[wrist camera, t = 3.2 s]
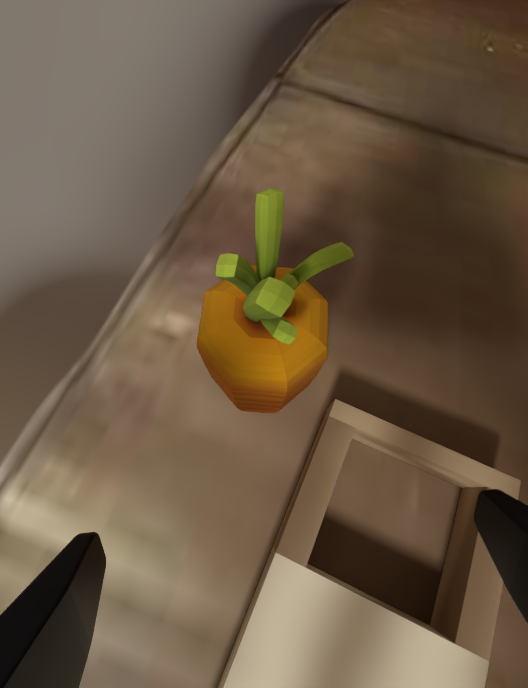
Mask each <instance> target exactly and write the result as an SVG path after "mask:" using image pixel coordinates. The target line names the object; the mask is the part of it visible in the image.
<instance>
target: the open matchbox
mask: <svg viewBox="0 0 528 688" xmlns="http://www.w3.org/2000/svg"><path fill="white" fill-rule="evenodd" d="M351 439H355V440H357V441H359V442H361V443H364V444H366V445H368V446H370V447H372V448H375V449H377V450H379V451H381V452H383V453H386V454H388V455H390V456H392V457H394V458H397V459H399V460H401V461H403V462H406V463H408V464H410V465H412V466H414V467H417V468H419V469H421V470H423V471H425V472H428V473H430V474H432V475H434V476H436V477H439V478H441V479H443V480H445V481H447V482H450V483H452V484H454V485H456V486H459V487H461V488H462V490H461V494H460V498H459V503H458V507H457V511H456V515H455V520H454V524H453V528H452V533H451V537H450V541H449V546H448V550H447V554H446V558H445V563H444V567H443V571H442V576H441V580H440V584H439V588H438V593H437V597H436V601H435V606H434V610H433V614H432V618H431V623H430V626H429V625H427V624H425V623H423V622H422V621H420V620H418V619H416V618H414V617H412V616H410V615H408V614H406V613H404V612H402V611H400V610H398V609H396V608H394V607H392V606H390V605H388V604H386V603H384V602H382V601H380V600H378V599H376V598H374V597H372V596H370V595H368V594H366V593H365V592H363V591H361V590H359V589H357V588H355V587H353V586H351V585H349V584H347V583H345V582H343V581H341V580H339V579H337V578H335V577H333V576H331V575H329V574H327V573H325V572H323V571H321V570H319V569H317V568H315V567H313V566H311V565H309V564H308V560H309V557H310V554H311V551H312V549H313V546H314V543H315V540H316V537H317V535H318V532H319V529H320V526H321V523H322V521H323V518H324V515H325V512H326V509H327V507H328V504H329V501H330V498H331V495H332V493H333V490H334V487H335V484H336V481H337V479H338V476H339V473H340V470H341V467H342V465H343V462H344V459H345V456H346V453H347V451H348V448H349V445H350V442H351ZM520 484H521V481H520V480H518V479H516V478H514V477H511V476H509V475H507V474H505V473H502V472H500V471H498V470H495V469H493V468H491V467H489V466H486V465H484V464H482V463H480V462H477V461H475V460H473V459H471V458H468V457H466V456H464V455H461V454H459V453H457V452H455V451H452V450H450V449H448V448H446V447H443V446H441V445H439V444H436V443H434V442H432V441H430V440H427V439H425V438H423V437H421V436H418V435H416V434H414V433H411V432H409V431H407V430H405V429H402V428H400V427H398V426H396V425H393V424H391V423H389V422H387V421H384V420H382V419H380V418H377V417H375V416H373V415H371V414H368V413H366V412H364V411H362V410H359V409H357V408H355V407H352V406H350V405H348V404H346V403H343V402H341V401H339V400H337V399H335V400H334V401H333V403H332V404H331V405H330V406H329V407H328V409H327V410H326V413H325V416H324V418H323V421H322V423H321V426H320V428H319V431H318V433H317V436H316V438H315V441H314V443H313V446H312V449H311V451H310V454H309V456H308V459H307V461H306V464H305V466H304V469H303V471H302V474H301V477H300V479H299V482H298V484H297V487H296V489H295V492H294V494H293V497H292V499H291V502H290V504H289V507H288V510H287V512H286V515H285V517H284V520H283V522H282V525H281V527H280V530H279V532H278V535H277V537H276V540H275V543H274V545H273V548H272V550H271V553H270V555H269V558H268V560H267V563H266V565H265V568H264V570H263V573H262V576H261V578H260V581H259V583H258V586H257V588H256V591H255V593H254V596H253V598H252V601H251V603H250V606H249V609H248V611H247V614H246V616H245V619H244V621H243V624H242V626H241V629H240V631H239V634H238V637H237V639H236V642H235V644H234V647H233V649H232V652H231V654H230V657H229V659H228V662H227V664H226V667H225V670H224V672H223V675H222V677H221V680H220V682H219V685H218V687H217V688H485V682H486V677H487V671H488V665H489V660H490V654H491V648H492V643H493V637H494V631H495V626H496V620H497V614H498V609H499V603H500V597H501V592H502V586H503V580H502V578H501V576H500V574H499V572H498V570H497V568H496V566H495V564H494V562H493V560H492V558H491V556H490V554H489V552H488V550H487V548H486V546H485V544H484V542H483V540H482V538H481V536H480V534H479V532H478V530H477V528H476V525H475V522H474V510H475V506H476V502H477V497H478V494H479V492H480V491H482V490H488V489H499V490H501V491H503V492H505V493H506V494H508V495H510V496H511V497H513V498H515V499H517V500H518V496H519V490H520Z"/></svg>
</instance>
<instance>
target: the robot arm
mask: <svg viewBox="0 0 528 688" xmlns="http://www.w3.org/2000/svg"><path fill="white" fill-rule="evenodd" d="M474 522H475V525H476V528H477V530H478V532H479V534H480V536H481V538H482V540H483V542H484V544H485V546H486V548H487V550H488V552H489V554H490V556H491V558H492V560H493V562H494V564H495V566H496V568H497V570H498V572H499V574H500V576H501V578H502V580H503V582H504V584H505V586H506V588H507V590H508V592H509V593H510V595H511V597H512V599H513V600H514V602H515V604H516V605H517V607H518V609H519V610H520V612H521V614H522V615H523V617H524V618H525V620H526V622H527V623H528V506H527V505H525V504H523V503H522V502H520V501H518V500H517V499H515V498H513V497H511V496H510V495H508V494H506V493H505V492H503V491H501V490H499V489H488V490H482V491H480V492H479V494H478V497H477V502H476V506H475V510H474ZM105 568H106V556H105V553H104V550H103V546H102V543H101V540H100V537H99V535H98V533H96V532H90V533H81V534H78V535H77V536H75V537H74V538H73V539H72V540H71V541H70V543H69V544H68V545H67V546H66V547H65V548H64V549H63V550H62V551H61V552H60V553H59V554H58V555H57V556H56V557H55V558H54V559H53V560H52V561H51V563H50V564H49V565H48V566H47V567H46V568H45V569H44V570H43V571H42V572H41V573H40V574H39V575H38V576H37V577H36V578H35V579H34V580H33V581H32V582H31V584H30V585H29V586H28V587H27V588H26V589H25V590H24V591H23V592H22V593H21V594H20V595H19V596H18V597H17V598H16V599H15V600H14V601H13V602H12V603H11V605H10V606H9V607H8V608H7V609H6V610H5V611H4V612H3V613H2V614H1V615H0V688H79V685H80V682H81V678H82V675H83V671H84V668H85V664H86V661H87V657H88V653H89V650H90V646H91V641H92V637H93V632H94V627H95V621H96V616H97V611H98V605H99V600H100V595H101V589H102V584H103V579H104V573H105Z"/></svg>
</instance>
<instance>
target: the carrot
mask: <svg viewBox="0 0 528 688" xmlns="http://www.w3.org/2000/svg"><path fill="white" fill-rule="evenodd" d="M283 210H284V195H283V191H282V190H280V189H267V190H264V191H262V192H260V193H258V194H257V197H256V206H255V232H256V265H250V264H249V263H248V262H247V261H246V260H245V259H244V258H242V257H241V256H239V255H236V254H230V253H228V254H222V255H220V257H219V259H218V262H217V265H216V276H217V277H219V278H221V279H223V280H222V281H220V282H219V283H217V284H216V285H214V286H213V287H211V288H210V289H209V290H207V291H206V292H205V295H204V301H203V307H202V313H201V319H200V326H199V332H198V338H197V348H198V351H199V353H200V355H201V357H202V359H203V362H204V364H205V366H206V368H207V369H208V371H209V373H210V375H211V376H212V378H213V379H214V380H215V382H216V383H217V384H218V385H219V386H220V388H221V389H222V390H223V391H224V393H225V394H226V395H227V396H228V397H229V399H230V400H231V401H232V402H233V403H234V405H235V406H236V407H237V408H238V409H240V410H242V411H248V412H260V413H276V412H278V411H279V410H281V409H282V408H283V407H284V406H285V405H286V404H288V403H289V402H290V401H291V400H292V399H293V398H295V397H296V396H297V395H298V394H299V393H300V392H302V391H303V390H304V389H305V388H306V387H307V386H309V384H310V383H311V382H312V380H313V379H314V378H315V376H316V375H317V374H318V372H319V370H320V369H321V367H322V365H323V364H324V362H325V361H326V359H327V356H328V313H329V305H328V301H327V300H326V299H325V298H324V297H323V296H322V295H321V294H320V293H318V292H317V291H316V290H315V289H314V288H313V287H312V286H311V285H310V284H309V283H308V282H307V281H306V280H307V279H309V278H310V277H312V276H314V275H315V274H317V273H319V272H320V271H322V270H324V269H326V268H329V267H331V266H334V265H336V264H339V263H341V262H344V261H346V260H348V259H350V258H353V257H354V253H353V251H352V249H351V248H350V247H349V246H347V245H346V244H344V243H343V242H339V243H336V244H333V245H330V246H328V247H325V248H323V249H321V250H319V251H317V252H315V253H313V254H312V255H311V256H309V257H308V258H307V259H305V260H304V261H303V262H301V263H300V264H299V265H298V266H297V267H295V268H285V267H277V261H278V254H279V246H280V239H281V231H282V222H283Z"/></svg>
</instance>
